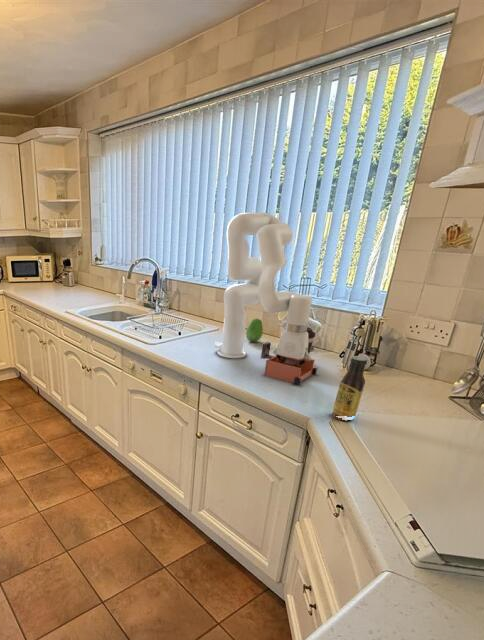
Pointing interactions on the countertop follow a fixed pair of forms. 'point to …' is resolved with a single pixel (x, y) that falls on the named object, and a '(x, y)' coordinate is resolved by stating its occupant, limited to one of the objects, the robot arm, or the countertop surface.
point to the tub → (285, 367)
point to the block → (289, 363)
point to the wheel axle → (298, 380)
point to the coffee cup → (310, 338)
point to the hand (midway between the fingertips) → (288, 372)
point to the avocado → (254, 330)
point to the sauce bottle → (350, 389)
